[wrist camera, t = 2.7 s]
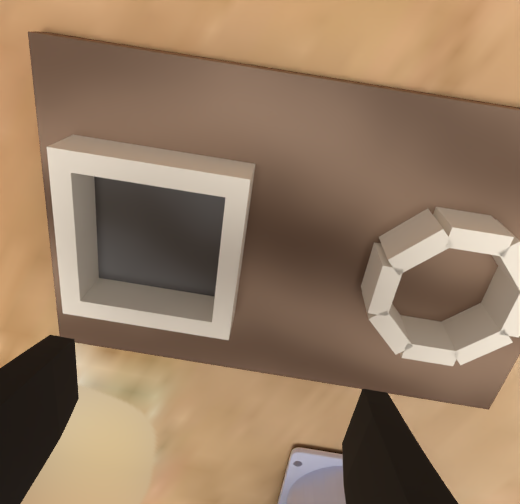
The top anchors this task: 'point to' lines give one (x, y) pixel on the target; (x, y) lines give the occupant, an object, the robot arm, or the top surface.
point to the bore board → (280, 220)
